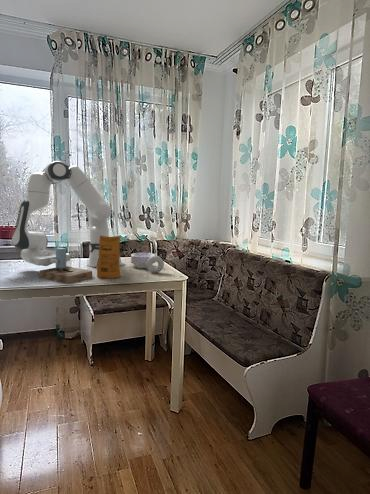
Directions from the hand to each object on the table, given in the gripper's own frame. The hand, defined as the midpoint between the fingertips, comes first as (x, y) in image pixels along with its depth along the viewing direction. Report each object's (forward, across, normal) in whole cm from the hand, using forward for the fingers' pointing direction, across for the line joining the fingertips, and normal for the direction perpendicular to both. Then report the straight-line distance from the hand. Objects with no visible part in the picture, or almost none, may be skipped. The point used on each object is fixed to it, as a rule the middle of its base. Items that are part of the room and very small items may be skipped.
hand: (62, 260), depth 175 cm
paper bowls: (+17, +48, +9) cm, 51 cm away
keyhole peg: (-1, 0, +8) cm, 8 cm away
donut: (+32, +38, +8) cm, 51 cm away
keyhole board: (+3, 0, +8) cm, 9 cm away
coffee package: (+18, +15, +9) cm, 25 cm away
